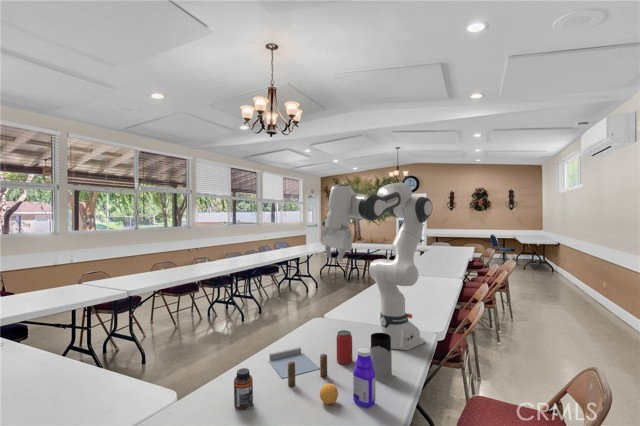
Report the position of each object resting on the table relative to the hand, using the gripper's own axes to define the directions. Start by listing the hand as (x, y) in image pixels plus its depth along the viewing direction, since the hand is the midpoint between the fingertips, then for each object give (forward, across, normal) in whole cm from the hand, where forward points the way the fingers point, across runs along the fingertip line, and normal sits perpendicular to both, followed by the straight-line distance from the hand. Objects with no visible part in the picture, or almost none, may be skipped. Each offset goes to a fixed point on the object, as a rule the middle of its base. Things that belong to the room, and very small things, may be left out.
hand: (333, 259), depth 131 cm
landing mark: (+45, +9, +8) cm, 47 cm away
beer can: (+43, +3, -12) cm, 45 cm away
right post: (+44, -5, +1) cm, 44 cm away
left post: (+45, -5, +14) cm, 48 cm away
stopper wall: (+46, +18, +9) cm, 50 cm away
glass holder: (+41, -12, -20) cm, 48 cm away
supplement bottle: (+48, -10, +33) cm, 58 cm away
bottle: (+43, -26, -3) cm, 50 cm away
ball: (+41, -21, +8) cm, 47 cm away
